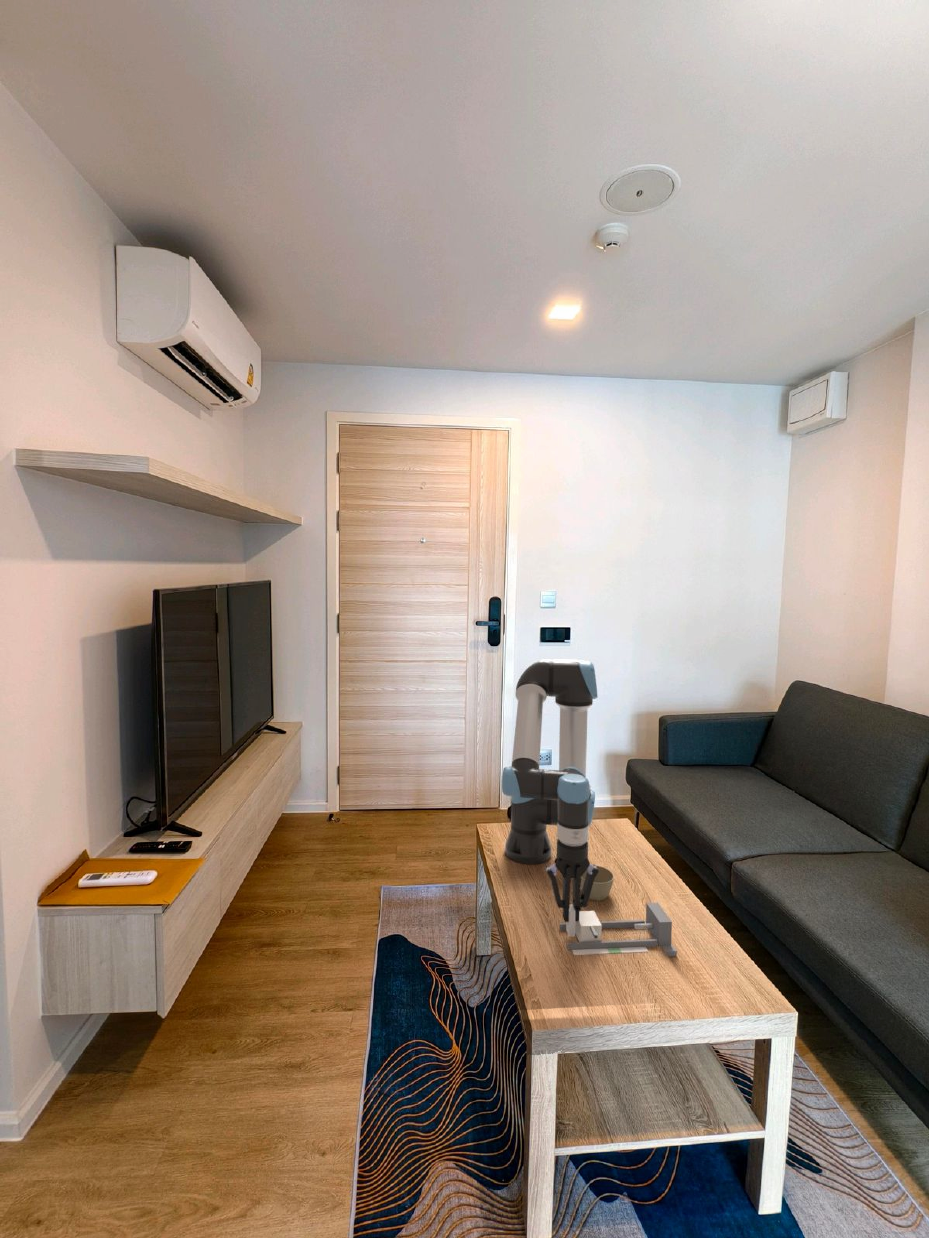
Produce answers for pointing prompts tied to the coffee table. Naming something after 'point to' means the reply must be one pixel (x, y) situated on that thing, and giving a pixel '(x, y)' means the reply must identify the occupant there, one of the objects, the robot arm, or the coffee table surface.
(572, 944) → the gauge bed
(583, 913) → the cream block
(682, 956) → the coffee table surface
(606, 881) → the flower pot
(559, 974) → the coffee table surface
